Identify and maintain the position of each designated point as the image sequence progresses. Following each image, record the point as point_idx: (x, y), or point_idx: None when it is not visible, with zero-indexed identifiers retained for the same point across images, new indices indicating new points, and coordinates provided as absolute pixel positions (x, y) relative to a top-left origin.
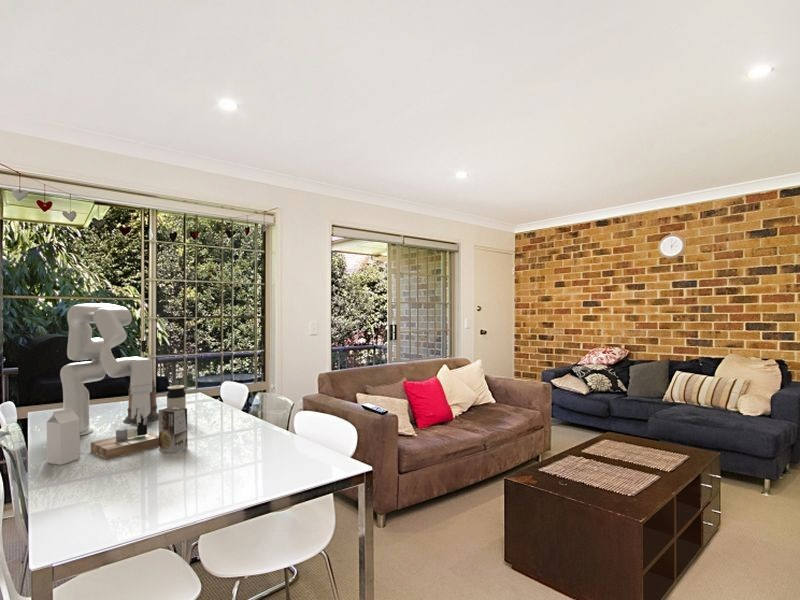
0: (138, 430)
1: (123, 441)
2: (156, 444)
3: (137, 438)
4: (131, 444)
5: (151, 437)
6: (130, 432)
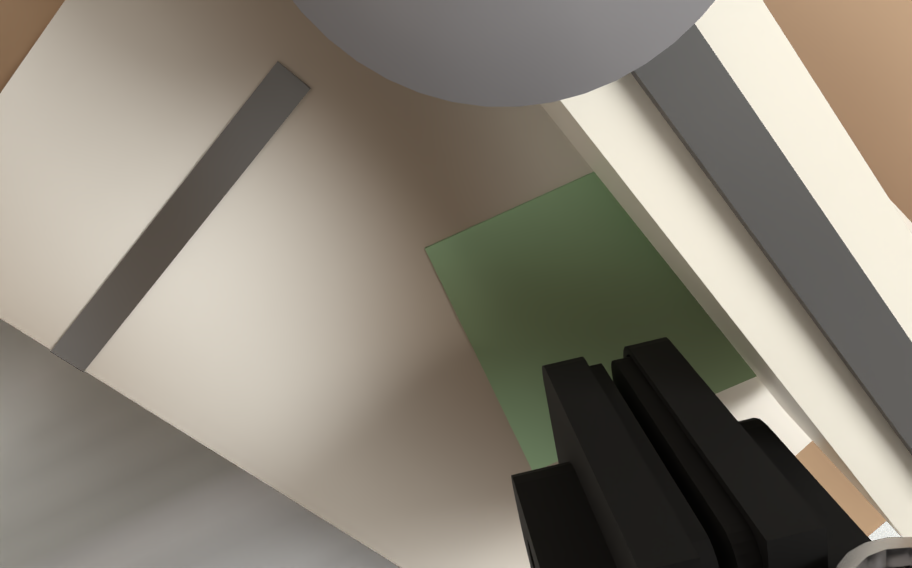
0: (586, 473)
1: None
2: None
3: (576, 286)
4: (92, 362)
5: None
6: (599, 159)
